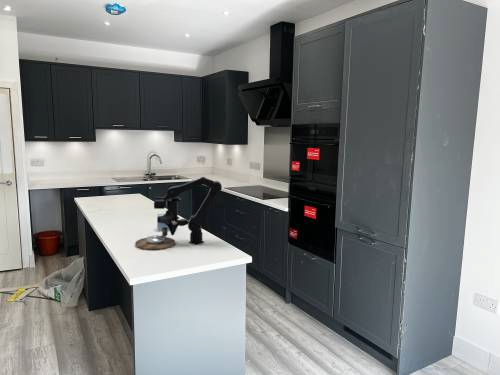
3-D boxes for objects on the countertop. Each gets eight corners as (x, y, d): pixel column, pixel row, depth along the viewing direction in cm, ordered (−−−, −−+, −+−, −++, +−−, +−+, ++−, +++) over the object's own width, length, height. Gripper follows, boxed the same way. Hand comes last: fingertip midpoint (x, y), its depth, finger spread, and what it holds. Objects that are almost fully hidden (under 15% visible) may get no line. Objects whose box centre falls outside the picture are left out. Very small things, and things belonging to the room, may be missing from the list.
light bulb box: (157, 231, 244) (157, 215, 242) (157, 229, 250) (156, 213, 249) (174, 230, 247) (174, 214, 245) (173, 228, 253) (173, 212, 252)
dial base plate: (182, 243, 221) (182, 240, 220) (156, 252, 201) (156, 249, 201) (154, 237, 231) (154, 234, 231) (126, 246, 212) (126, 243, 212)
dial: (156, 245, 209) (155, 233, 208) (142, 242, 214) (142, 230, 213) (173, 238, 222) (173, 228, 221) (160, 236, 227) (160, 225, 226)
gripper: (150, 209, 215) (150, 235, 217) (176, 213, 206) (176, 241, 208) (163, 206, 225) (163, 231, 227) (188, 209, 216) (188, 236, 218)
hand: (172, 235), depth 220 cm, fingers closed
